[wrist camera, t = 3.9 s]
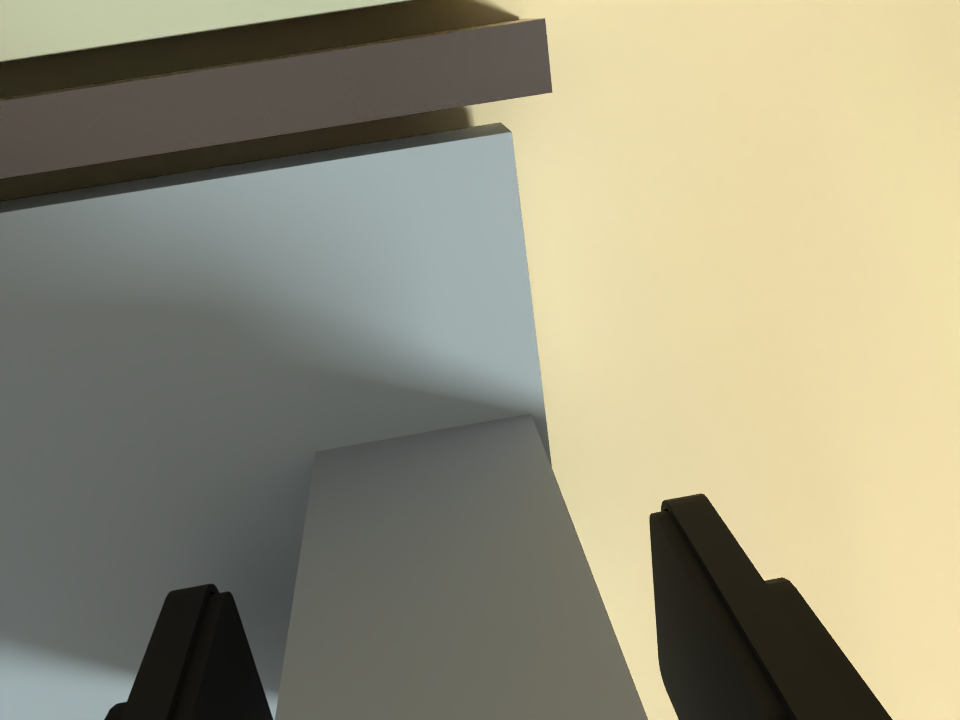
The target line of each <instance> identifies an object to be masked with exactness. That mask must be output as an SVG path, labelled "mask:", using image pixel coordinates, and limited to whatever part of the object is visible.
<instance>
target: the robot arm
mask: <svg viewBox="0 0 960 720" xmlns="http://www.w3.org/2000/svg"><path fill="white" fill-rule="evenodd" d="M650 537H651V552H652V567H653V582H654V598H655V613H656V628H657V643H658V658H659V666H660V671H661V675H662V679H663V682H664V685H665V688H666V691H667V693H668V695H669V698H670V700H671V702H672V705H673V707H674V709H675V712H676V714H677V716H678V719H679V720H892V718H891V717H890V716H889V714H888V713H887V712H886V710H885V709H884V708H883V706H882V705H881V703H880V702H879V701H878V699H877V698H876V697H875V695H874V694H873V693H872V691H871V690H870V688H869V687H868V686H867V684H866V683H865V682H864V680H863V679H862V678H861V676H860V675H859V673H858V672H857V671H856V669H855V668H854V667H853V665H852V664H851V663H850V661H849V660H848V658H847V657H846V656H845V654H844V653H843V652H842V650H841V649H840V648H839V646H838V645H837V643H836V642H835V641H834V639H833V638H832V637H831V635H830V634H829V633H828V631H827V630H826V628H825V627H824V626H823V624H822V623H821V622H820V620H819V619H818V618H817V616H816V615H815V613H814V612H813V611H812V609H811V608H810V607H809V605H808V604H807V603H806V601H805V600H804V598H803V597H802V596H801V594H800V593H799V592H798V590H797V589H796V588H795V587H794V585H793V584H792V583H791V582H790V581H789V580H787V579H785V578H783V577H782V578H777V579H772V580H767V581H764V580H763V578H762V577H761V576H760V574H759V573H758V571H757V570H756V568H755V567H754V565H753V564H752V562H751V561H750V560H749V558H748V557H747V555H746V554H745V552H744V551H743V549H742V548H741V546H740V545H739V543H738V542H737V541H736V539H735V538H734V536H733V535H732V533H731V532H730V530H729V529H728V527H727V526H726V524H725V523H724V522H723V520H722V519H721V517H720V516H719V514H718V513H717V511H716V510H715V508H714V507H713V506H712V504H711V503H710V501H709V500H708V498H707V497H706V496H705V495H704V494H696V495H691V496H685V497H680V498H674V499H669V500H664V501H663V502H662V506H661V512H657V513H651V515H650ZM104 720H273V717H272V714H271V711H270V708H269V705H268V702H267V699H266V696H265V692H264V689H263V686H262V683H261V680H260V677H259V674H258V671H257V668H256V665H255V662H254V658H253V655H252V652H251V649H250V646H249V643H248V640H247V637H246V634H245V631H244V628H243V624H242V621H241V618H240V615H239V612H238V609H237V606H236V603H235V600H234V597H233V595H232V594H231V592H229V591H227V592H222V593H219V591H218V588H217V587H216V586H215V585H214V584H212V583H211V584H205V585H200V586H194V587H189V588H183V589H178V590H172V591H170V592H169V593H168V595H167V596H166V598H165V601H164V604H163V606H162V609H161V612H160V614H159V617H158V620H157V622H156V625H155V628H154V630H153V633H152V636H151V638H150V641H149V644H148V646H147V649H146V652H145V654H144V657H143V660H142V662H141V665H140V668H139V670H138V673H137V676H136V678H135V681H134V684H133V686H132V689H131V692H130V694H129V697H128V700H127V702H123V703H117V704H115V705H114V706H113V707H112V708H111V709H110V710H109V712H108V714H107V715H106V717H105V719H104Z"/></svg>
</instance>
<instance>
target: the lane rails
mask: <svg viewBox="0 0 960 720" xmlns="http://www.w3.org/2000/svg"><path fill="white" fill-rule="evenodd" d="M551 92H552V85H551V75H550V65H549V54H548V44H547V34H546V24H545V18H543V19H520V20H514V21H507V22H500V23H494V24H487V25H481V26H474V27H468V28H461V29H454V30H448V31H441V32H435V33H428V34H421V35H415V36H408V37H402V38H395V39H389V40H382V41H375V42H369V43H362V44H356V45H349V46H343V47H336V48H329V49H323V50H316V51H310V52H303V53H296V54H290V55H283V56H277V57H270V58H264V59H257V60H250V61H244V62H237V63H231V64H224V65H218V66H211V67H204V68H198V69H191V70H185V71H178V72H171V73H165V74H158V75H152V76H145V77H139V78H132V79H125V80H119V81H112V82H106V83H99V84H93V85H86V86H79V87H73V88H66V89H60V90H53V91H46V92H40V93H33V94H27V95H20V96H14V97H7V98H0V179H2V178H9V177H15V176H22V175H28V174H34V173H41V172H47V171H53V170H60V169H66V168H73V167H79V166H85V165H92V164H98V163H104V162H111V161H117V160H124V159H130V158H136V157H143V156H149V155H156V154H162V153H168V152H175V151H181V150H187V149H194V148H200V147H207V146H213V145H219V144H226V143H232V142H238V141H245V140H251V139H258V138H264V137H270V136H277V135H283V134H289V133H296V132H302V131H309V130H315V129H321V128H328V127H334V126H340V125H347V124H353V123H360V122H366V121H372V120H379V119H385V118H392V117H398V116H404V115H411V114H417V113H423V112H430V111H436V110H443V109H449V108H455V107H462V106H468V105H474V104H481V103H487V102H494V101H500V100H506V99H513V98H519V97H525V96H532V95H538V94H545V93H551Z"/></svg>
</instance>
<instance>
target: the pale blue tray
mask: <svg viewBox="0 0 960 720" xmlns="http://www.w3.org/2000/svg"><path fill="white" fill-rule="evenodd" d="M211 583H212V584H214V585H215V586H216V587H217V588H218V591H219V593H222V592H227V591H229V592H231V594H232V595H233V597H234V600H235V603H236V606H237V609H238V612H239V615H240V618H241V621H242V624H243V628H244V631H245V634H246V637H247V640H248V643H249V646H250V649H251V652H252V655H253V658H254V662H255V665H256V668H257V671H258V674H259V677H260V680H261V683H262V686H263V689H264V692H265V696H266V699H267V702H268V705H269V708H270V711H271V714H272V717H273V720H648V718H647V716H646V713H645V711H644V708H643V705H642V703H641V700H640V698H639V695H638V692H637V690H636V687H635V684H634V682H633V679H632V677H631V674H630V671H629V669H628V666H627V664H626V661H625V658H624V656H623V653H622V650H621V648H620V645H619V643H618V640H617V637H616V635H615V632H614V630H613V627H612V624H611V622H610V619H609V616H608V614H607V611H606V609H605V606H604V603H603V601H602V598H601V596H600V593H599V590H598V588H597V585H596V583H595V580H594V577H593V575H592V572H591V569H590V567H589V564H588V562H587V559H586V556H585V554H584V551H583V549H582V546H581V543H580V541H579V538H578V535H577V533H576V530H575V528H574V525H573V522H572V520H571V517H570V515H569V512H568V509H567V507H566V504H565V501H564V499H563V496H562V494H561V491H560V488H559V486H558V483H557V481H556V478H555V475H554V473H553V470H552V465H551V457H550V449H549V440H548V432H547V423H546V415H545V407H544V398H543V390H542V382H541V373H540V365H539V356H538V348H537V340H536V331H535V323H534V315H533V306H532V298H531V289H530V281H529V273H528V264H527V256H526V248H525V239H524V231H523V222H522V214H521V206H520V197H519V189H518V181H517V172H516V164H515V155H514V147H513V139H512V132H511V131H510V130H509V129H508V128H506V127H505V126H504V125H503V124H502V123H494V124H488V125H482V126H475V127H469V128H463V129H456V130H450V131H444V132H437V133H431V134H425V135H418V136H412V137H406V138H399V139H393V140H387V141H380V142H374V143H368V144H361V145H355V146H349V147H342V148H336V149H330V150H323V151H317V152H311V153H305V154H298V155H292V156H286V157H279V158H273V159H267V160H260V161H254V162H248V163H241V164H235V165H229V166H222V167H216V168H210V169H203V170H197V171H191V172H184V173H178V174H172V175H165V176H159V177H153V178H146V179H140V180H134V181H127V182H121V183H115V184H109V185H102V186H96V187H90V188H83V189H77V190H71V191H64V192H58V193H52V194H45V195H39V196H33V197H26V198H20V199H14V200H7V201H1V202H0V720H104V719H105V717H106V715H107V714H108V712H109V710H110V709H111V708H112V707H113V706H114V705H115V704H117V703H123V702H127V700H128V697H129V694H130V692H131V689H132V686H133V684H134V681H135V678H136V676H137V673H138V670H139V668H140V665H141V662H142V660H143V657H144V654H145V652H146V649H147V646H148V644H149V641H150V638H151V636H152V633H153V630H154V628H155V625H156V622H157V620H158V617H159V614H160V612H161V609H162V606H163V604H164V601H165V598H166V596H167V595H168V593H169V592H170V591H172V590H178V589H183V588H189V587H194V586H200V585H205V584H211Z"/></svg>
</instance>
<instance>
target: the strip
mask: <svg viewBox="0 0 960 720" xmlns="http://www.w3.org/2000/svg"><path fill="white" fill-rule="evenodd" d="M409 1H415V0H0V63H2V62H8V61H15V60H22V59H28V58H35V57H42V56H48V55H55V54H62V53H68V52H75V51H82V50H89V49H95V48H102V47H109V46H115V45H122V44H129V43H135V42H142V41H149V40H155V39H162V38H169V37H175V36H182V35H189V34H195V33H202V32H209V31H215V30H222V29H229V28H235V27H242V26H249V25H255V24H262V23H269V22H275V21H282V20H289V19H295V18H302V17H309V16H315V15H322V14H329V13H335V12H342V11H349V10H355V9H362V8H369V7H375V6H382V5H389V4H395V3H402V2H409Z"/></svg>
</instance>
